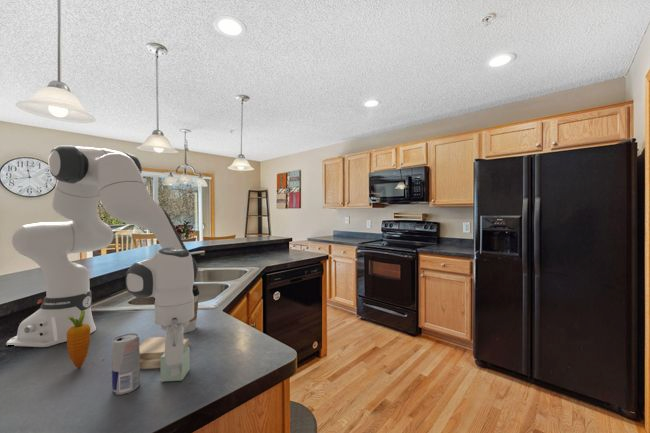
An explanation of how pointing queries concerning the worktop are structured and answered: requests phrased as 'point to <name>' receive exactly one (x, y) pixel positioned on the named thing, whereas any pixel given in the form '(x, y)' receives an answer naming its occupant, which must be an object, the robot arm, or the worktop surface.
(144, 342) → the stand
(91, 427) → the worktop surface
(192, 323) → the coffee cup
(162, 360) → the block
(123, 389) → the energy drink
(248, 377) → the worktop surface
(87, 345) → the carrot
